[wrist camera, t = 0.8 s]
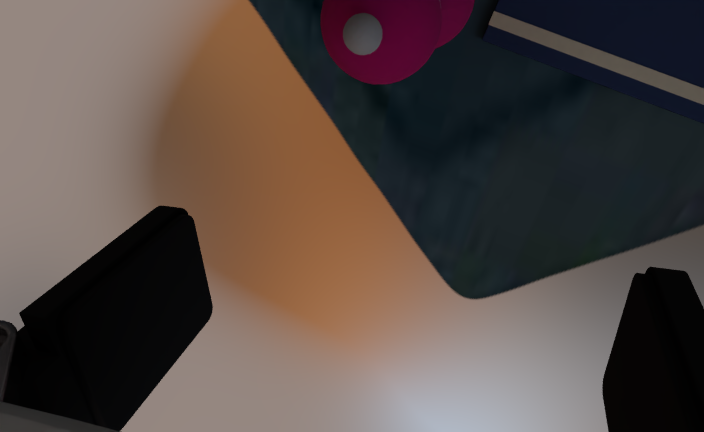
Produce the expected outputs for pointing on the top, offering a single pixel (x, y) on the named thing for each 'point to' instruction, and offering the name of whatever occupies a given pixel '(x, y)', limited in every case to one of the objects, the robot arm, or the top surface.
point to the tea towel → (614, 45)
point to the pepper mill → (389, 34)
